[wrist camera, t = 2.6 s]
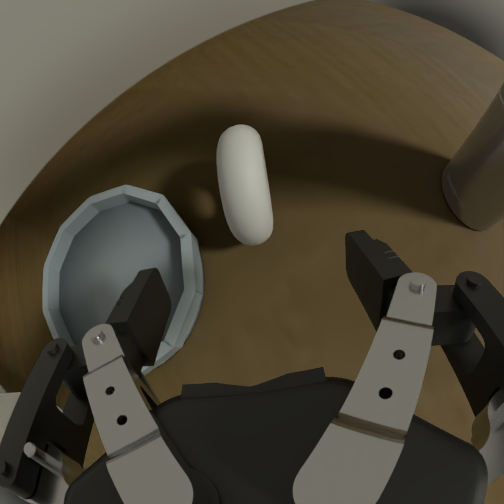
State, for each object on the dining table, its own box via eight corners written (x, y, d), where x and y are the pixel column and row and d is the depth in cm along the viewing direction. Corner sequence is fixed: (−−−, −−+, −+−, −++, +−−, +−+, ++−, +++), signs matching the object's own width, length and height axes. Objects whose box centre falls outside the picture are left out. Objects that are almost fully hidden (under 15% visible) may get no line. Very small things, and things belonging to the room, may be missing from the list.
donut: (233, 170, 28) (211, 103, 19) (266, 166, 28) (255, 95, 18) (240, 261, 25) (212, 218, 16) (277, 257, 25) (272, 210, 15)
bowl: (196, 183, 28) (187, 166, 25) (217, 371, 23) (207, 376, 20) (65, 221, 30) (50, 212, 27) (65, 371, 24) (47, 372, 21)
